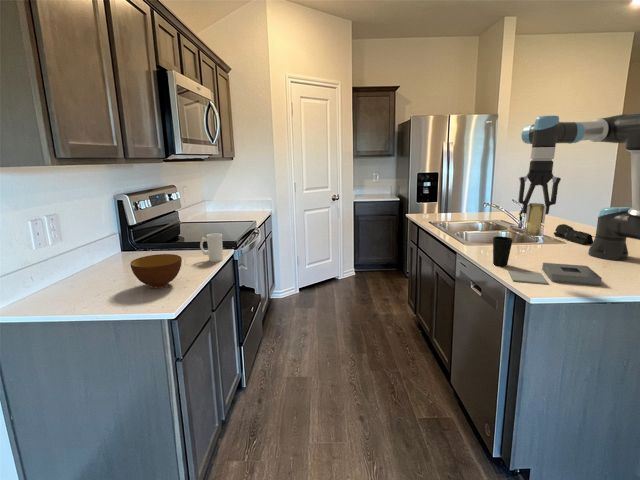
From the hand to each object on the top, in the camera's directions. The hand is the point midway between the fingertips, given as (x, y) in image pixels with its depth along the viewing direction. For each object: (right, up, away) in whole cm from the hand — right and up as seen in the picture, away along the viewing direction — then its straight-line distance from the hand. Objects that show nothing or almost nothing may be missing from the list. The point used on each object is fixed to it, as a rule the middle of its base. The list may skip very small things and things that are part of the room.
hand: (534, 222), depth 147 cm
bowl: (-142, -24, -1) cm, 144 cm away
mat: (0, -22, +5) cm, 22 cm away
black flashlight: (+57, -7, +66) cm, 88 cm away
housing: (+17, -21, +6) cm, 28 cm away
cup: (-3, -18, +22) cm, 29 cm away
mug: (-131, -16, +33) cm, 137 cm away
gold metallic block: (0, -5, +1) cm, 5 cm away
